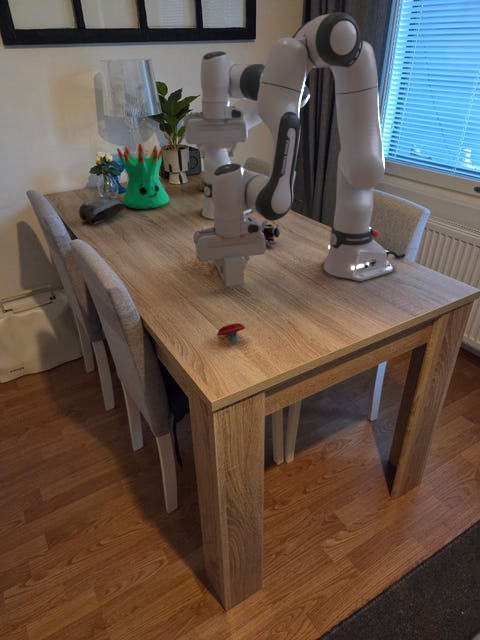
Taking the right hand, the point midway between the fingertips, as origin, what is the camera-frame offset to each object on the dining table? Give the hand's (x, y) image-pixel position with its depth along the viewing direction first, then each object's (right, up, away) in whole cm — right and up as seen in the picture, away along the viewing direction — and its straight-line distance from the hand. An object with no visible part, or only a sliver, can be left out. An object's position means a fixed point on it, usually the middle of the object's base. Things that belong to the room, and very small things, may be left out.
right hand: (231, 270), depth 131 cm
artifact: (-11, +52, +95) cm, 109 cm away
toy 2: (+9, +13, +32) cm, 36 cm away
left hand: (-5, +40, +17) cm, 43 cm away
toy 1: (-41, +39, +73) cm, 92 cm away
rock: (-55, +27, +55) cm, 82 cm away
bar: (-2, +2, +8) cm, 8 cm away
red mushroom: (0, -20, -21) cm, 29 cm away
